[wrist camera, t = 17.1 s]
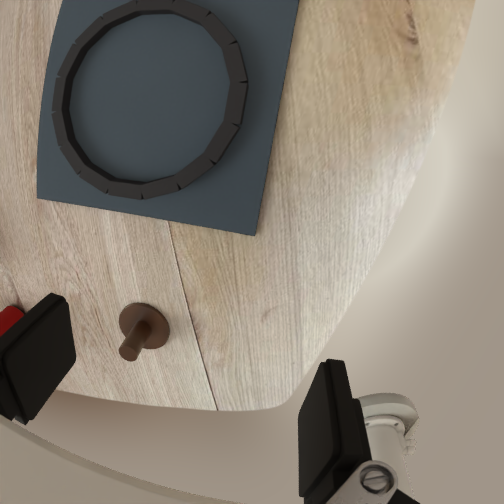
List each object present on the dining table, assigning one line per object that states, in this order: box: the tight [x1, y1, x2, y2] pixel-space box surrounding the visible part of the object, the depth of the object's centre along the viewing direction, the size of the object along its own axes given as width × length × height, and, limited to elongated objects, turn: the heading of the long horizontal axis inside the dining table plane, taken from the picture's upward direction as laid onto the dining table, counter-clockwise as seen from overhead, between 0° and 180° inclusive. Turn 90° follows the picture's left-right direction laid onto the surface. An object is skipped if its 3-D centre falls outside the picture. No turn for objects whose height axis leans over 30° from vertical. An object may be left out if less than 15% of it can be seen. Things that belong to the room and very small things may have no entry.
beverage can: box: [0, 306, 25, 337], centre depth 37 cm, size 7×7×12 cm
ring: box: [51, 0, 249, 200], centre depth 28 cm, size 22×22×2 cm
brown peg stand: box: [119, 303, 170, 361], centre depth 37 cm, size 7×7×6 cm
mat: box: [37, 0, 299, 236], centre depth 29 cm, size 28×26×1 cm
